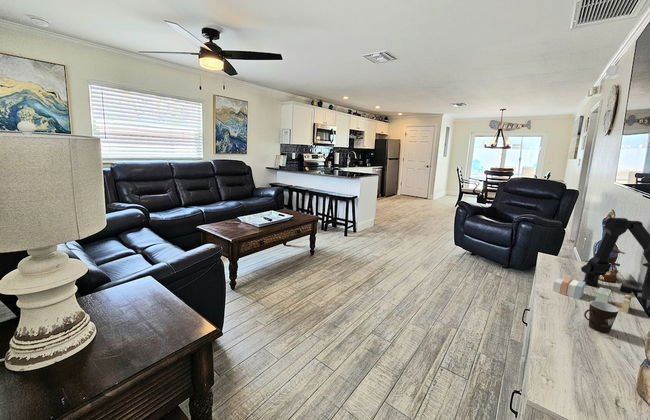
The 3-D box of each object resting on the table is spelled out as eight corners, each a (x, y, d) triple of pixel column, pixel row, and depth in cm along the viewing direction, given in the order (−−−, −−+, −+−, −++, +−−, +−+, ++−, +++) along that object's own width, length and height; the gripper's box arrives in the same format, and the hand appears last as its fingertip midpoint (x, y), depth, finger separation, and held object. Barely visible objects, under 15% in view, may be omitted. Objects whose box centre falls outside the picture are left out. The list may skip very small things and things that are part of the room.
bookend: (615, 304, 141) (618, 292, 139) (629, 307, 137) (631, 295, 136) (613, 309, 136) (616, 297, 134) (627, 313, 132) (629, 301, 131)
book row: (556, 286, 158) (558, 274, 157) (583, 293, 150) (585, 282, 149) (551, 291, 152) (554, 279, 151) (579, 299, 144) (581, 287, 143)
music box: (619, 278, 169) (626, 246, 164) (618, 286, 162) (626, 252, 156) (584, 270, 180) (590, 239, 174) (581, 277, 172) (588, 245, 167)
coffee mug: (606, 324, 123) (611, 302, 121) (618, 336, 115) (624, 313, 113) (572, 319, 127) (576, 298, 125) (582, 330, 119) (586, 308, 117)
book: (597, 298, 146) (600, 287, 145) (608, 301, 143) (611, 290, 142) (594, 304, 140) (596, 292, 139) (605, 307, 137) (608, 295, 136)
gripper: (621, 277, 129) (614, 309, 132) (688, 293, 115) (678, 329, 118) (624, 270, 136) (617, 301, 139) (688, 285, 122) (678, 319, 125)
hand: (645, 312), depth 130 cm, fingers closed
